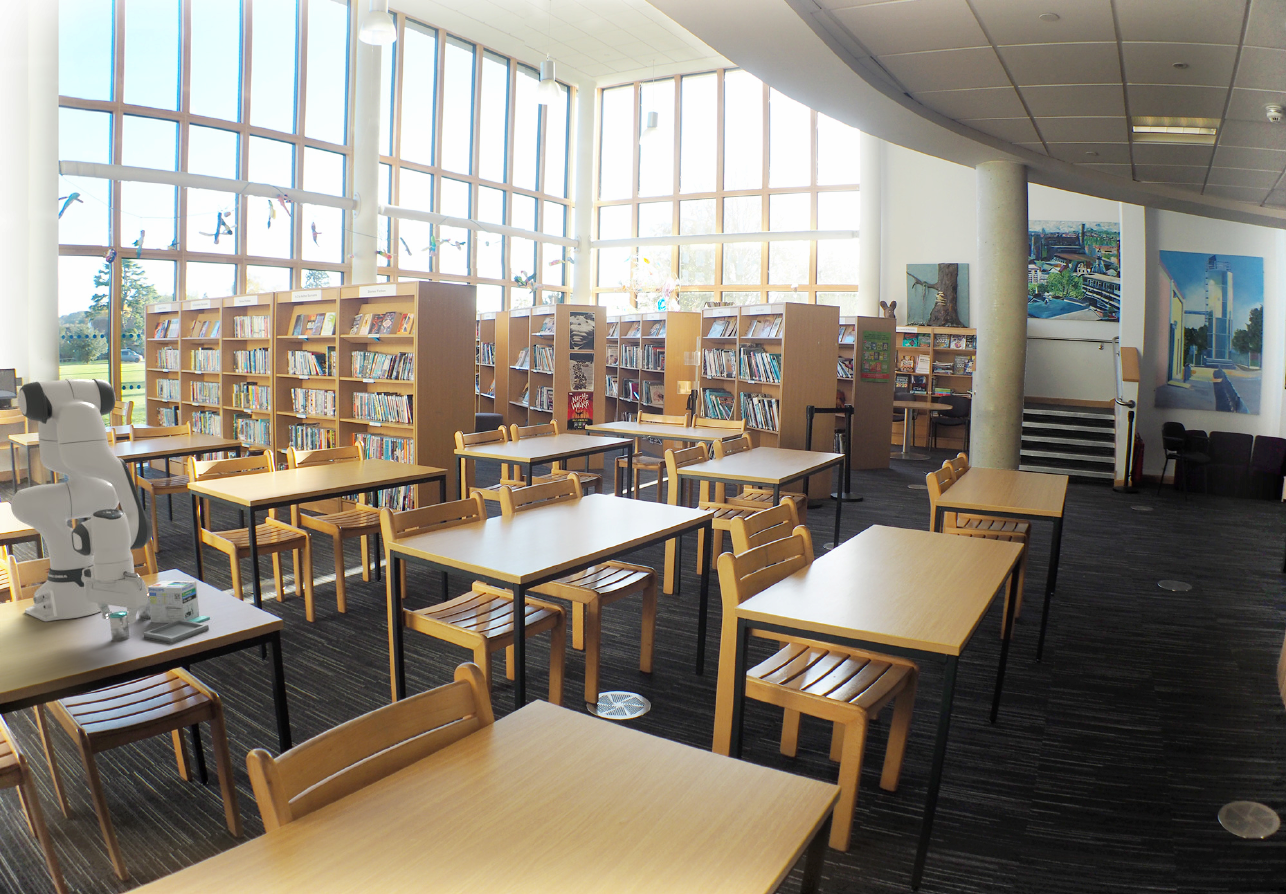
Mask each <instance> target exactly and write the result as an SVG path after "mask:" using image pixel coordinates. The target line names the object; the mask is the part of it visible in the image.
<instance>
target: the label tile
mask: <svg viewBox="0 0 1286 894" xmlns="http://www.w3.org/2000/svg"><path fill="white" fill-rule="evenodd" d="M210 619H211V617H210V616H208V615H199V616H198V617H196V618H194V619H191V620H188V621H191V622H197V623H202V622H205V621H208V620H210Z"/></svg>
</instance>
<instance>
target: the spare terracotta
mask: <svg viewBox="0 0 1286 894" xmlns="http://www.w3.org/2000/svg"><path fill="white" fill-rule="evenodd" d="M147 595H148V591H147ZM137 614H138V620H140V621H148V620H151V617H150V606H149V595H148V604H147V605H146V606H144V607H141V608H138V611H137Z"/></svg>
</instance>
